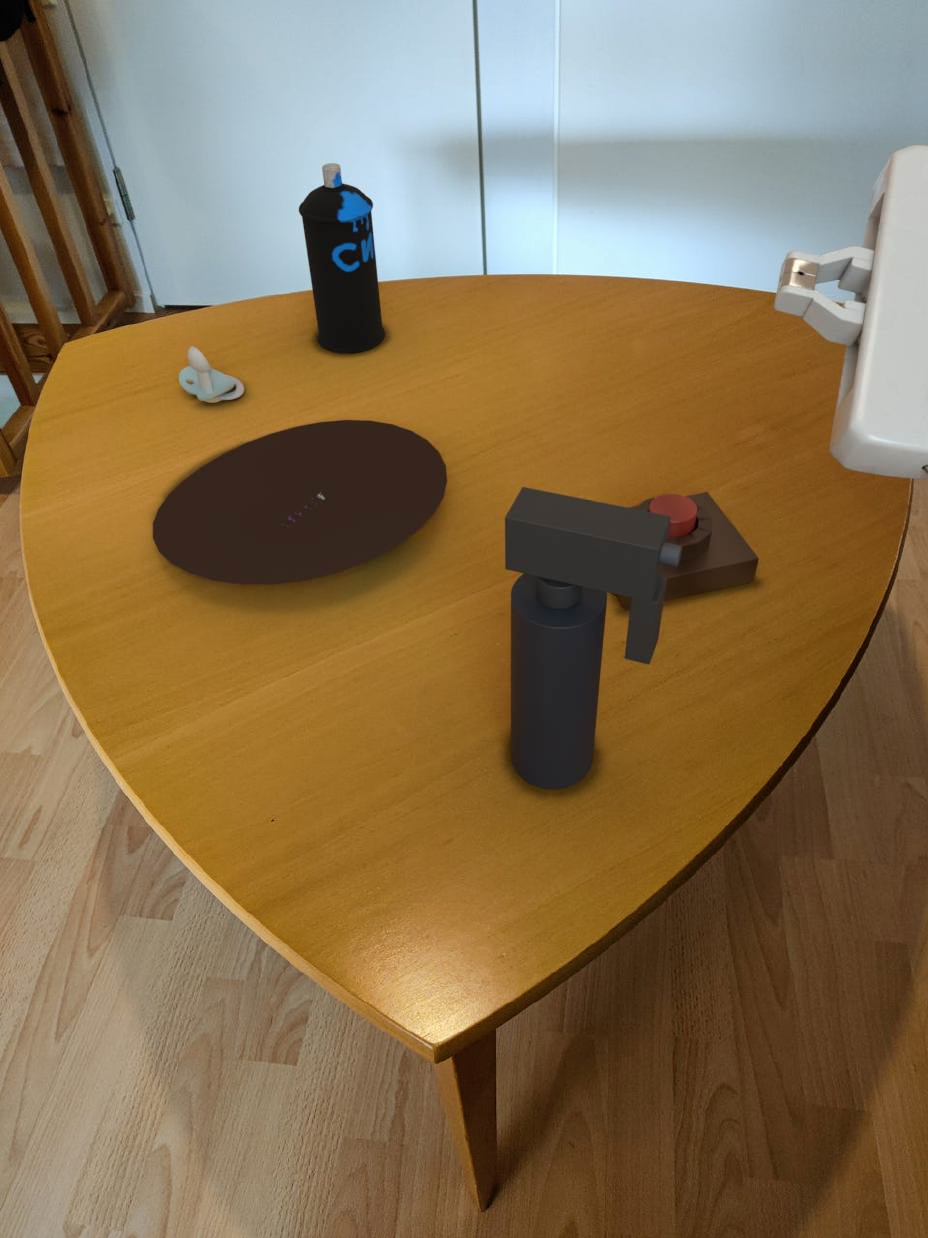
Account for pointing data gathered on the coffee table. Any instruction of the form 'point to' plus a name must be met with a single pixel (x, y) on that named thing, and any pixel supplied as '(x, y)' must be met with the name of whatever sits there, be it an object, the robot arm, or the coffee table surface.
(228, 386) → the pacifier
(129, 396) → the coffee table surface
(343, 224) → the aerosol can
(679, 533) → the button
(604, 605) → the spray bottle
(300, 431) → the plate
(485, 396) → the coffee table surface
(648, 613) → the block
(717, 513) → the button block
